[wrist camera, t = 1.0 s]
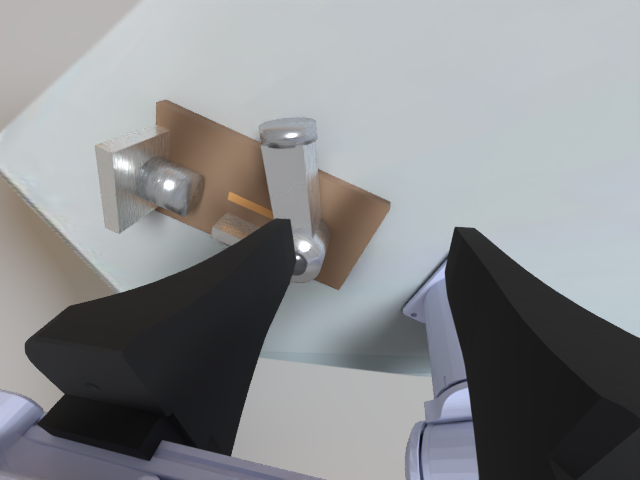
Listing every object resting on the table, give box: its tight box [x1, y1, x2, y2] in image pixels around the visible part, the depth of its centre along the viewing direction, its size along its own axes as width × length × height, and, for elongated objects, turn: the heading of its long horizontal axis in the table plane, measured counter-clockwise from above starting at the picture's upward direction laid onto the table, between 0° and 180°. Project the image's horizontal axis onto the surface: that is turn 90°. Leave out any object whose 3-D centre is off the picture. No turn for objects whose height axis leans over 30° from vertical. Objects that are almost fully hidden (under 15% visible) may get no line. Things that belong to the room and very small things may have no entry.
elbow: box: [259, 118, 331, 283], centre depth 18 cm, size 10×4×4 cm, turn 5°
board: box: [155, 100, 390, 290], centre depth 22 cm, size 17×9×1 cm, turn 69°
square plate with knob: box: [95, 124, 260, 246], centre depth 20 cm, size 9×6×5 cm, turn 70°
